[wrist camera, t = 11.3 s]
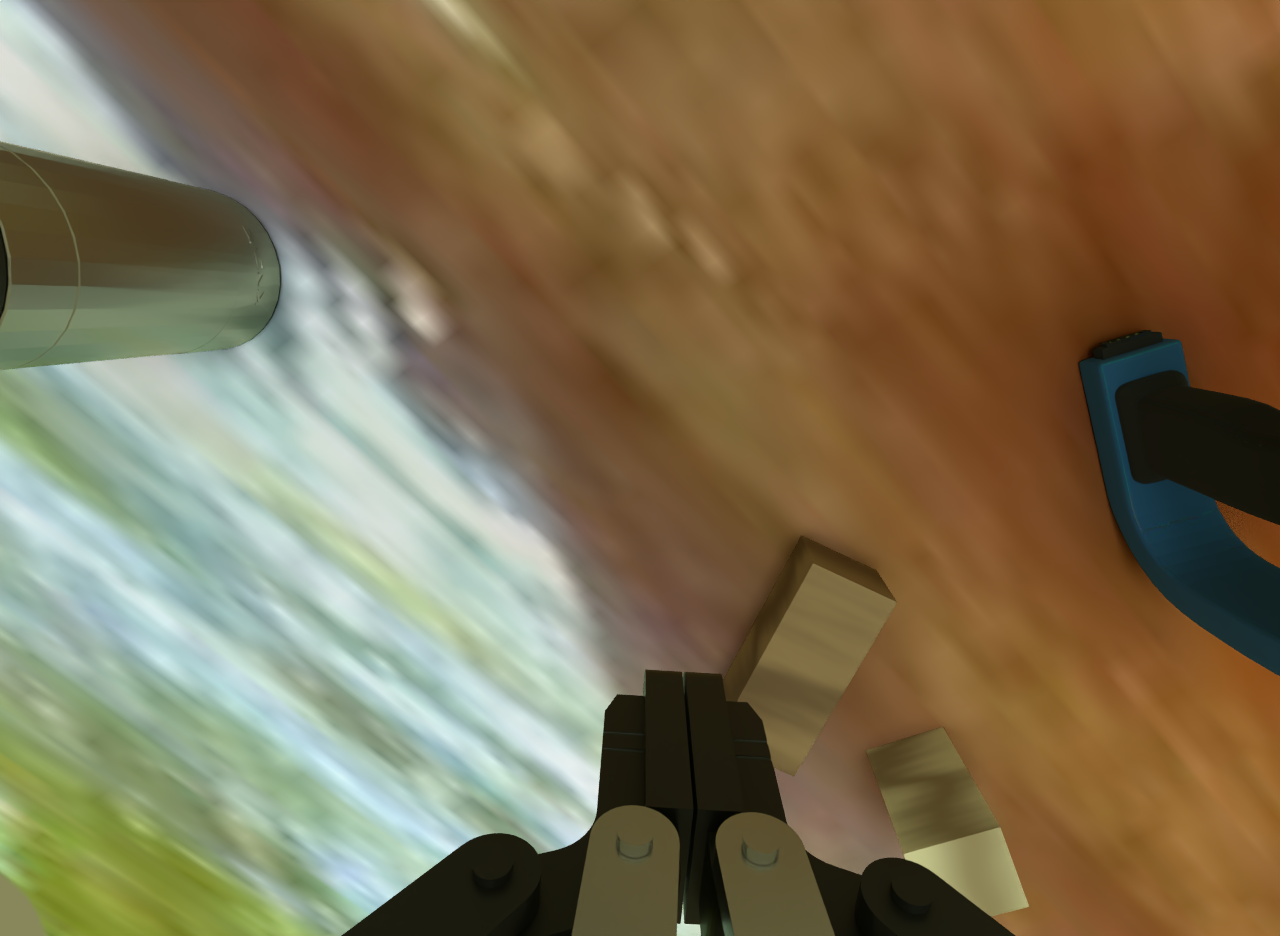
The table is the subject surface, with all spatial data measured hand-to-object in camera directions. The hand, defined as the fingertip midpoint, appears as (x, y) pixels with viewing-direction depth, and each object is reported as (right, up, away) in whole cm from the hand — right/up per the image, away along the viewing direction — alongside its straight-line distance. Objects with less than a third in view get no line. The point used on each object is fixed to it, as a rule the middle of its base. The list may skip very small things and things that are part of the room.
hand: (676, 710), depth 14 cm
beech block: (+17, -15, +32) cm, 39 cm away
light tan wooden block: (+6, -11, +30) cm, 33 cm away
